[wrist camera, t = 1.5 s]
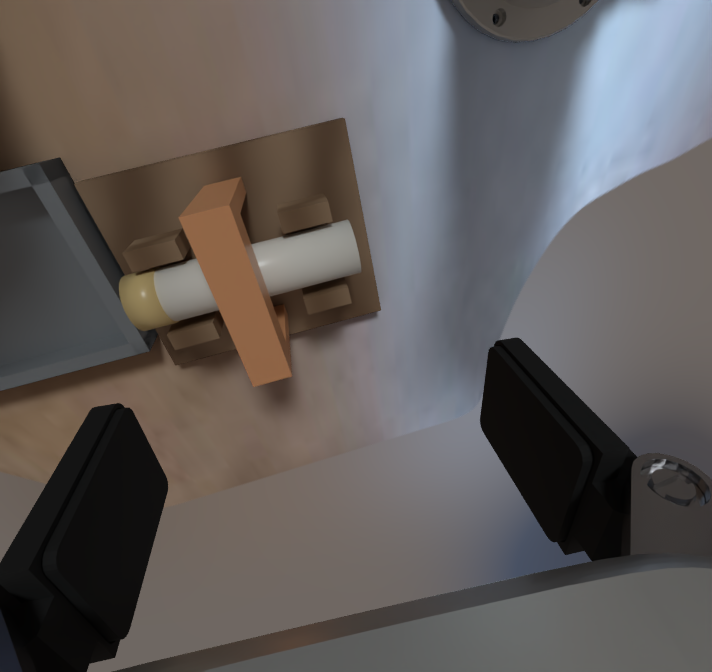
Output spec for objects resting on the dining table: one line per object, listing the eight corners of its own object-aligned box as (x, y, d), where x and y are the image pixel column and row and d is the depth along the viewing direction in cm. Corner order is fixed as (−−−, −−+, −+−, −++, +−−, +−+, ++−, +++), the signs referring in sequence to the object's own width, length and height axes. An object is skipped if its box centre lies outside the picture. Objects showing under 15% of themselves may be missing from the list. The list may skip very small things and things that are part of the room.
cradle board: (341, 117, 26) (357, 121, 21) (377, 303, 33) (395, 337, 28) (82, 180, 25) (37, 199, 20) (178, 357, 32) (162, 400, 28)
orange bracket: (240, 176, 25) (229, 204, 18) (287, 315, 31) (292, 376, 24) (204, 185, 25) (178, 217, 18) (257, 323, 31) (253, 386, 24)
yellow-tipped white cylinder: (343, 213, 26) (352, 224, 23) (355, 264, 28) (364, 281, 24) (131, 268, 25) (111, 286, 22) (156, 317, 27) (140, 340, 24)
